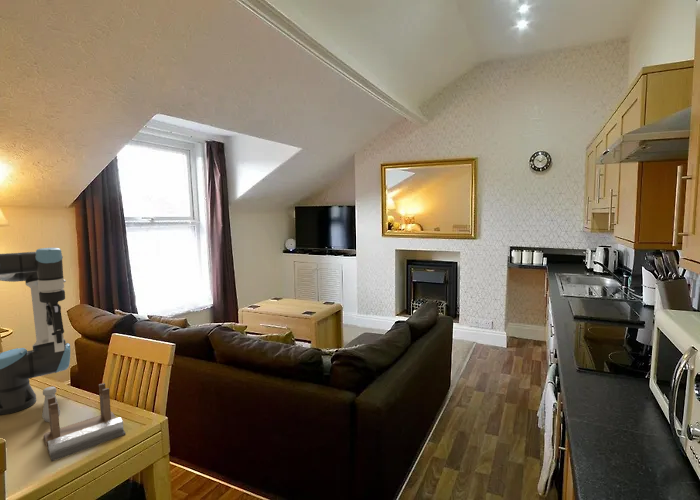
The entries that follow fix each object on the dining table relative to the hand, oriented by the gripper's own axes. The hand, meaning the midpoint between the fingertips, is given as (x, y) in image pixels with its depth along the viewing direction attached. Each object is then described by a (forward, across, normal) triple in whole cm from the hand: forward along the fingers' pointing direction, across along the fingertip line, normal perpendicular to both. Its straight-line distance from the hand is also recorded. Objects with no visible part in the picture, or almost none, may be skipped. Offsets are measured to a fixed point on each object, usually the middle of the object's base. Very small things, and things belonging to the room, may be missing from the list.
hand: (56, 346), depth 145 cm
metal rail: (+31, -17, -5) cm, 36 cm away
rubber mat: (+32, -17, -5) cm, 37 cm away
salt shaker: (+33, +10, +2) cm, 34 cm away
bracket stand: (+32, -7, -5) cm, 33 cm away
